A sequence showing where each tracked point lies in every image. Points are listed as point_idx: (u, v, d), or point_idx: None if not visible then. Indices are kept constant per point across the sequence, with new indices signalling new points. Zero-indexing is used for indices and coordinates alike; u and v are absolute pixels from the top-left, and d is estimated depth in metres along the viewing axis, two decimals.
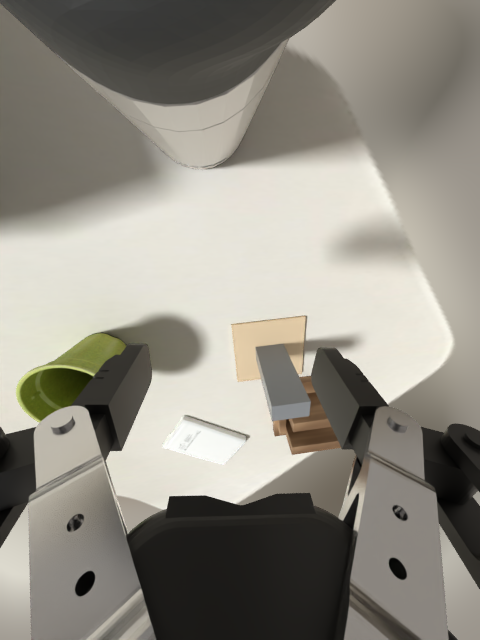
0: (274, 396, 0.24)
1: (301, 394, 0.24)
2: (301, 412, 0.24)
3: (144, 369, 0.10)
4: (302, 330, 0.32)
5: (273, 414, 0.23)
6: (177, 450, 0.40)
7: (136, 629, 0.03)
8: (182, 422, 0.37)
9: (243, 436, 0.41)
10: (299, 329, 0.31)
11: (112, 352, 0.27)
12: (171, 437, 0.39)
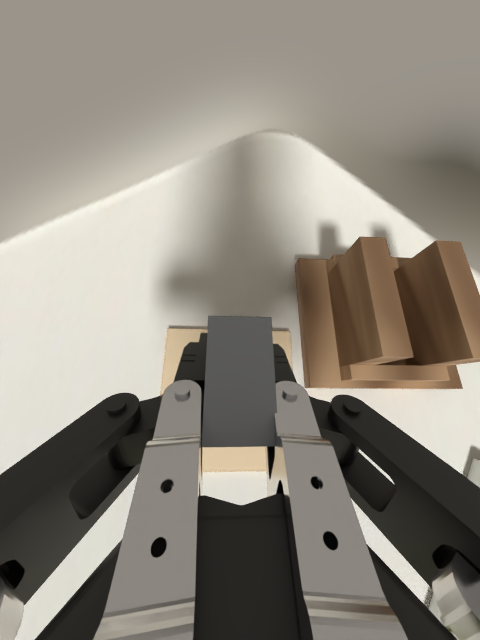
0: None
1: None
2: (251, 339, 0.08)
3: None
4: (193, 332, 0.18)
5: (244, 440, 0.06)
6: None
7: (136, 629, 0.03)
8: None
9: (474, 466, 0.17)
10: (190, 338, 0.18)
11: None
12: None
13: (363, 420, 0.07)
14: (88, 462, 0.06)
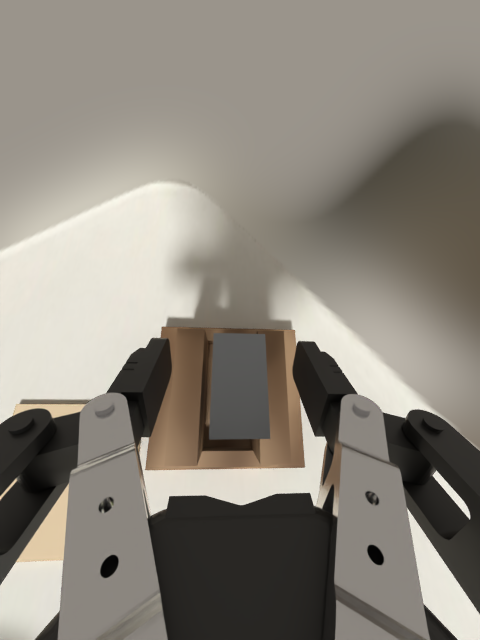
0: None
1: None
2: (248, 353, 0.09)
3: (166, 362, 0.10)
4: (42, 408, 0.18)
5: (242, 434, 0.08)
6: None
7: (136, 629, 0.03)
8: None
9: None
10: None
11: None
12: None
13: (444, 440, 0.06)
14: None
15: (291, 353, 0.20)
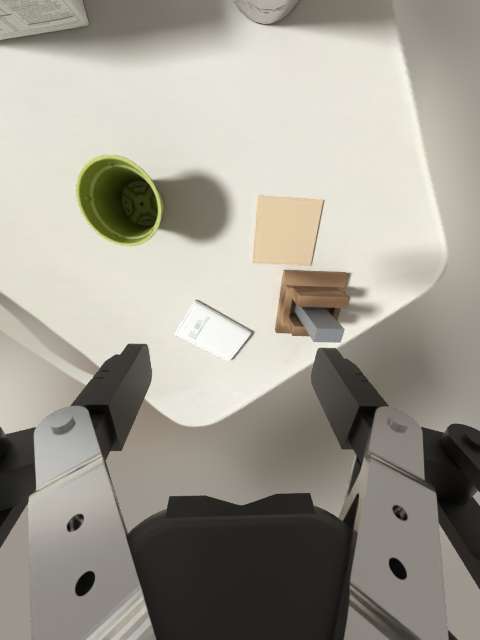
0: (317, 324, 0.33)
1: (337, 325, 0.33)
2: (336, 337, 0.33)
3: (144, 369, 0.10)
4: (318, 215, 0.36)
5: (316, 335, 0.32)
6: (187, 338, 0.44)
7: (136, 629, 0.03)
8: (193, 304, 0.41)
9: (248, 330, 0.45)
10: (315, 213, 0.36)
11: None
12: (183, 322, 0.42)
13: None
14: None
15: None
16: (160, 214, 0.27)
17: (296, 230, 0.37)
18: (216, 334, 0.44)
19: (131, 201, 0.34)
